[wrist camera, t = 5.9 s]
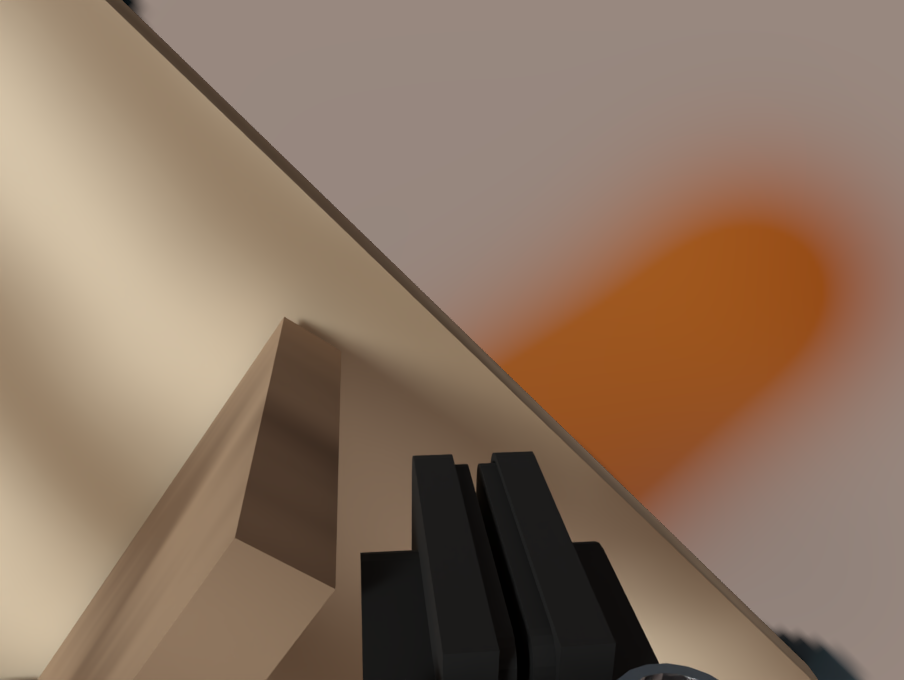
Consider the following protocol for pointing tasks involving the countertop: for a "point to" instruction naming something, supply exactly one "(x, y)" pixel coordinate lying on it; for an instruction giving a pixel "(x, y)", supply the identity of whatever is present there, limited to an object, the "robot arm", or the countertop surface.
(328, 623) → the board
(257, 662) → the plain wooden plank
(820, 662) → the countertop surface
